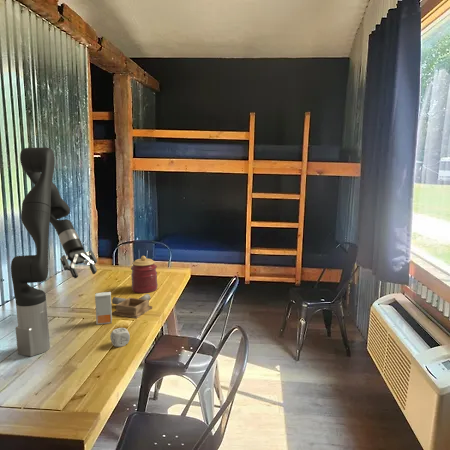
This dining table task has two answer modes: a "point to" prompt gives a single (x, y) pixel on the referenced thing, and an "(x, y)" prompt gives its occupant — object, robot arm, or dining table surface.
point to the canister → (144, 275)
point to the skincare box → (103, 308)
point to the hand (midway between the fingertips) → (85, 275)
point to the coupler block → (132, 306)
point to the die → (120, 337)
